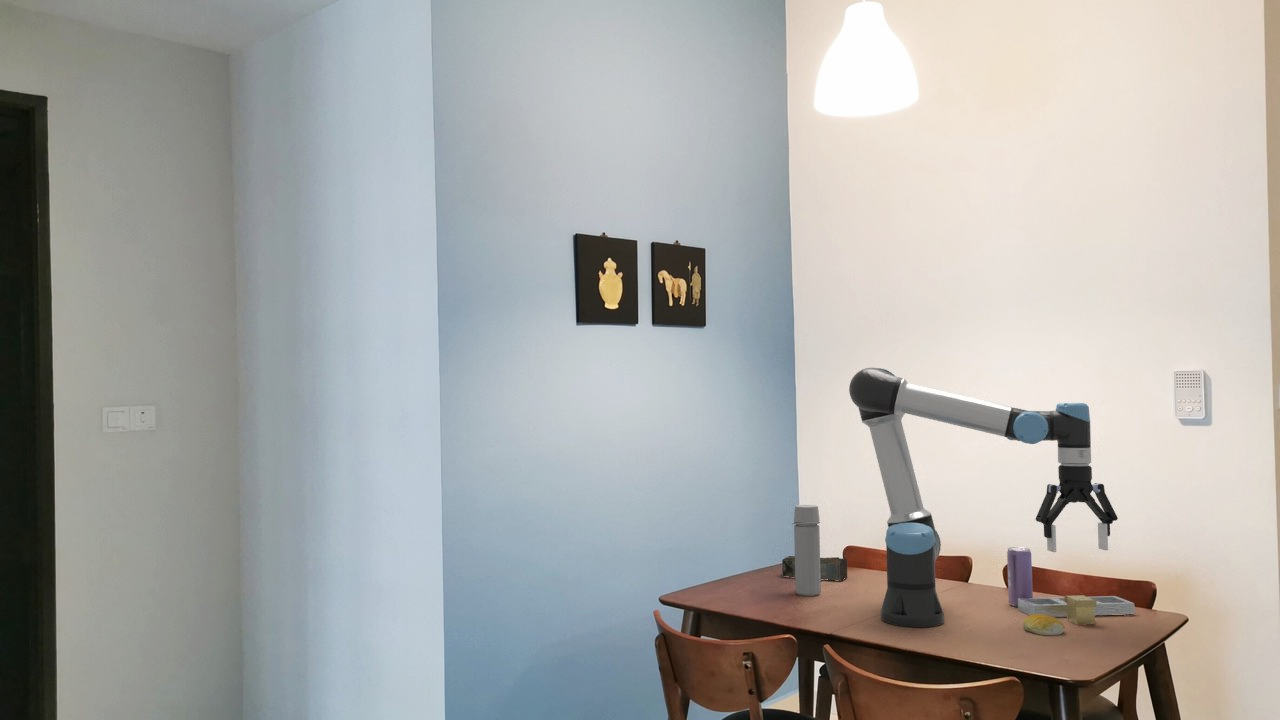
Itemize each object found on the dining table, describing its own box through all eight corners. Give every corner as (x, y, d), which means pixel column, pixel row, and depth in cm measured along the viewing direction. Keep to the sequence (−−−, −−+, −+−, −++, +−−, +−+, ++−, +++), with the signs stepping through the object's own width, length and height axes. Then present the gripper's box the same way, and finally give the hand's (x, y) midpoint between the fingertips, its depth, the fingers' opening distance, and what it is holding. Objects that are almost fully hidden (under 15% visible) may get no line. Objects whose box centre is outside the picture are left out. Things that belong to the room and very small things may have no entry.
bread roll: (1045, 626, 221) (1044, 609, 221) (1070, 635, 212) (1069, 617, 212) (1015, 628, 219) (1014, 611, 219) (1039, 637, 210) (1039, 620, 210)
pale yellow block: (1077, 625, 220) (1076, 600, 220) (1065, 620, 225) (1064, 595, 226) (1097, 625, 220) (1096, 600, 220) (1084, 619, 226) (1083, 595, 226)
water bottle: (827, 595, 257) (825, 506, 258) (803, 597, 254) (801, 508, 256) (809, 589, 266) (807, 503, 267) (786, 591, 263) (784, 504, 264)
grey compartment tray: (1034, 617, 228) (1033, 605, 228) (1018, 609, 237) (1018, 598, 237) (1134, 615, 229) (1134, 603, 229) (1115, 607, 238) (1115, 596, 238)
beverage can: (1035, 608, 238) (1033, 550, 239) (1011, 607, 239) (1009, 550, 240) (1030, 603, 244) (1028, 547, 245) (1006, 602, 245) (1005, 546, 246)
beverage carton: (788, 573, 291) (788, 553, 291) (848, 578, 283) (848, 557, 283) (781, 578, 284) (781, 557, 284) (842, 583, 276) (842, 561, 276)
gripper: (1035, 466, 221) (1038, 554, 220) (1131, 464, 224) (1134, 551, 223) (1019, 464, 229) (1022, 549, 228) (1112, 462, 231) (1115, 546, 230)
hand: (1077, 550), depth 225 cm, fingers open, 13 cm apart
